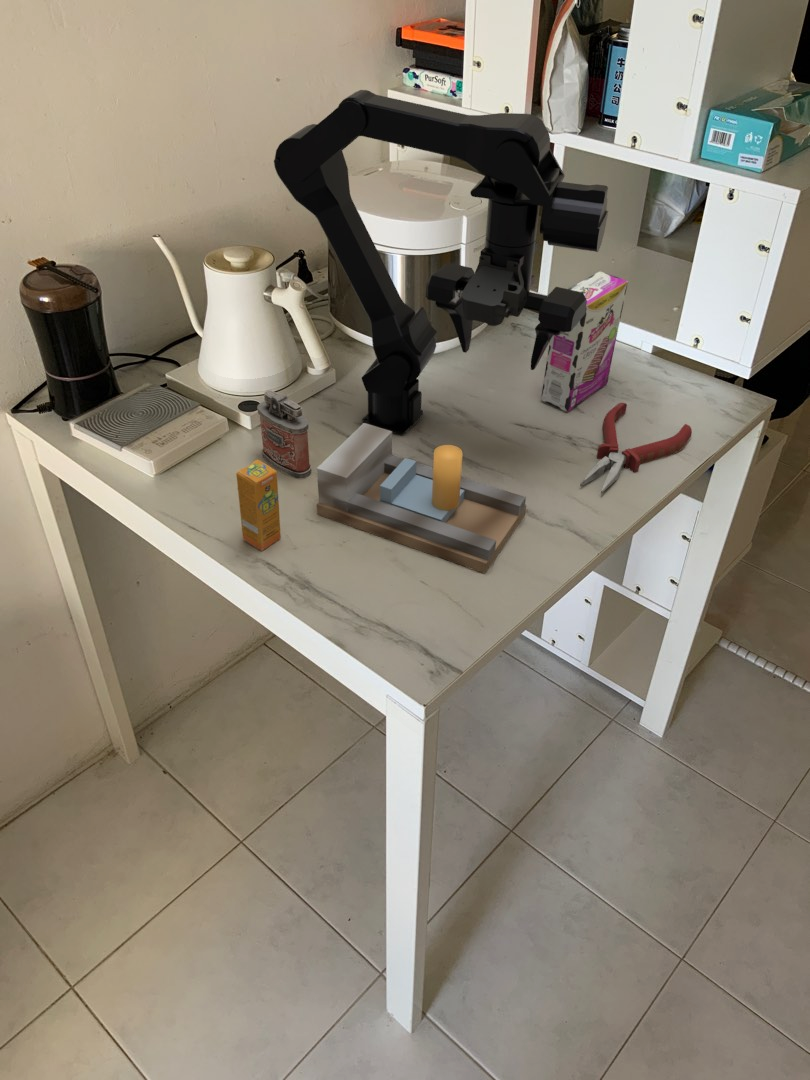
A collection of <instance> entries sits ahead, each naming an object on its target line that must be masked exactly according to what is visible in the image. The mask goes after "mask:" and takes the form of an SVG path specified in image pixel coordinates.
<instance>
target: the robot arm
mask: <svg viewBox="0 0 810 1080" xmlns="http://www.w3.org/2000/svg"><path fill="white" fill-rule="evenodd" d="M359 137H365V138H369V139H373V140H378V141H382V142H386V143H390V144H394V145H397V146H398V145H399V146H404V147H408V148H411V149H415V150H420V151H425V152H430V153H434V154H438V155H442V156H446V157H451V158H454V159H457V160H460V161H461V162H464V163H465V164H467V165H468V166H470V167H471V168H472V169H474V170H475V171H476V172H478V173H479V174H482V175H483V176H484V177H483V178H482V179H481V180H479V181H478V182H477V183H476V184H475V186H474V187H473V188H472V189H471V190H470V192H469V194H470V195H471V197H472V198H480V199H487V200H488V202H487V214H486V229H485V239H484V240H485V241H484V247H483V248H482V249H481V250H480V254H479V257H478V258H479V259H478V264H477V267H476V268H475V271H474V269H473V268H472V267H469V266H466V265H465V266H464V265H460V264H455V263H451V262H446V263H444V265H442V266H441V267H440V268H439V269H437V271H435V272H434V273H433V274H431V275H430V276H429V277H428V278H427V281H426V284H425V298H426V299H427V300H429V301H431V302H433V301H434V302H435V303H434V304H435V305H436V308H441V309H442V310H444V311H445V312H446V313H448V315H449V317H450V319H451V321H452V323H453V325H454V326H453V327H454V329H455V331H456V334H457V339H458V341H459V344H460V346H461V351H462V352H463V353H467V352H468V351H469V350H470V346H471V340H472V335H473V321H476V322H479V323H482V324H487V325H488V326H490V327H492V326H493V327H496V326H497V327H498V326H500V325H502V323H503V322H504V319H505V318H506V319H508V318H509V317H511V316H512V317H517V318H518V317H520V315H521V313H522V311H523V310H524V309H525V310H531V311H535V312H538V322H539V323H538V324H537V325H536V326H535V328H534V331H535V335H536V336H535V340H534V344H533V350H532V354H531V358H530V370H532V371H534V370H535V369H536V368H537V367H538V364H539V363H540V361H541V358H543V355H544V353H545V351H546V349H547V348H548V347H549V342H550V340H551V338H552V337H553V335H560V334H561V333H562V332H570V331H572V329H573V328H574V327H575V326H576V325H577V323H578V322H579V321H580V320H581V318H582V317H583V316H584V315H585V311H586V305H587V300H586V298H585V296H584V294H583V292H578V291H574V290H569V288H563V287H559V286H555V287H554V288H553V289H552V290H551V291H550V292H549V294H547V295H545V294H540V293H535V292H532V291H531V287H532V286H533V285H534V281H535V275H533V265H534V264H533V263H534V257H535V253H536V252H537V251H538V246H539V242H538V241H536V239H537V231H538V222H539V213H540V206H542V208H541V209H542V210H541V217H540V222H539V234H540V235H542V241H543V242H547V245H548V246H553V247H559V248H565V249H566V248H567V249H573V250H579V251H580V250H581V251H588V252H594V253H598V252H599V251H600V249H601V246H602V243H603V239H604V235H605V232H606V231H605V230H606V227H607V221H608V220H607V219H608V215H609V210H608V193H609V192H608V191H609V187H608V185H605V184H591V185H590V184H581V183H574V182H573V183H572V182H564V181H563V180H564V179H565V173H564V172H563V169H562V168H561V166H560V164H559V162H558V160H557V158H556V157H555V155H554V153H553V151H552V150H551V138H550V134H549V130H548V129H547V127H546V125H545V123H544V121H543V120H542V119H541V118H539V117H538V116H536V115H534V114H531V113H517V112H516V113H514V112H513V113H512V112H511V113H507V112H505V113H504V112H498V113H490V114H489V113H488V114H481V115H479V114H477V115H475V114H466V113H460V112H457V111H451V110H447V109H442V108H439V107H438V108H437V107H434V106H429V105H428V106H427V105H424V104H420V103H415V102H410V101H406V100H401V99H397V98H393V97H388V96H383V95H379V94H376V93H373V92H372V91H370V90H367V89H359V90H357V91H355V92H353V93H351V94H350V95H348V96H347V97H345V98H344V99H342V101H341V102H340V103H339V104H338V106H337V107H336V108H335V109H334V110H333V111H331V112H330V114H328V115H327V116H326V117H324V118H323V119H322V120H321V121H319V123H318V124H317V123H316V124H315V123H311V124H309V125H306V126H304V127H303V128H301V129H300V130H297V132H295V133H293V134H292V135H291V136H288V137H287V138H286V139H284V140H283V141H282V142H280V143H279V145H278V147H277V148H276V150H275V156H274V159H273V165H274V169H275V171H276V174H277V176H278V178H279V179H280V181H281V182H282V183H283V185H284V186H285V188H286V189H287V191H288V192H289V193H290V194H291V196H292V197H293V199H294V201H296V202H297V203H298V204H300V205H301V206H302V207H303V208H305V209H306V210H307V211H308V212H310V213H311V214H312V215H313V216H314V217H315V219H316V220H317V222H318V223H319V224H320V227H321V229H322V231H323V233H324V235H325V236H326V238H327V241H328V242H329V245H330V247H331V249H332V251H333V252H334V254H335V255H336V258H337V260H338V261H339V264H340V265H341V267H342V270H343V271H344V273H345V275H346V277H347V279H348V281H349V282H350V283H349V284H350V285H351V287H352V289H353V290H354V292H355V294H356V296H357V298H358V300H359V302H360V304H361V307H362V308H363V310H364V312H365V313H366V316H367V317H368V319H369V322H370V331H371V341H372V349H373V351H374V355H375V357H376V359H375V360H374V361H373V362H372V363H371V365H370V366H369V367H368V369H367V370H366V371H365V372H364V374H363V375H362V376H361V381H362V384H363V386H364V389H365V391H366V392H367V414H365V416H364V417H363V418H362V421H361V423H362V424H363V423H366V424H369V425H373V426H376V427H379V428H383V429H386V430H389V431H392V434H397V435H399V436H403V435H405V434H406V433H407V432H408V431H409V430H410V429H411V428H412V426H414V425H415V424H416V423H417V421H419V420H420V419H421V417H422V416H423V415H424V410H423V409H422V397H423V396H422V391H421V390H420V389H419V387H420V384H419V383H420V380H419V378H418V377H419V376H420V375H421V374H422V372H423V371H424V369H425V368H426V366H427V365H428V363H429V362H430V360H431V359H432V357H433V356H434V354H435V351H436V348H437V342H436V341H437V340H436V337H435V336H436V335H437V334H438V331H437V330H436V329H435V328H434V327H433V326H432V324H431V322H430V319H429V317H428V313H427V311H426V309H425V307H424V306H420V307H419V308H417V309H415V310H414V309H413V308H411V307H410V306H409V305H408V304H406V303H405V302H404V301H403V299H402V297H401V296H400V293H399V292H398V290H397V288H396V286H395V283H394V282H393V279H392V278H391V275H390V274H389V272H388V269H387V267H386V265H385V262H384V261H383V259H382V257H381V255H380V253H379V251H378V249H377V247H376V245H375V243H374V240H373V239H372V237H371V234H370V233H369V231H368V228H366V225H365V223H364V221H363V219H362V217H361V215H360V213H359V210H358V209H357V207H356V205H355V203H354V200H353V199H352V196H351V189H350V179H349V167H348V165H347V161H346V158H345V156H344V155H345V154H344V153H343V151H344V150H345V149H346V148H347V147H348V146H350V144H351V145H352V143H353V142H354V141H355V140H356V139H357V138H359Z"/></svg>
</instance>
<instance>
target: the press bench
mask: <svg viewBox="0 0 810 1080" xmlns="http://www.w3.org/2000/svg"><path fill="white" fill-rule="evenodd" d="M404 459H405V457H404V458H403V457H401V456H396V455H393V432H392V431H389V430H386V429H383V428H379V427H376V426H373V425H369V424H366V423H362V424H361V425H360V426H358V428H356V429H355V431H354V432H353V433H352V434H350V435H349V437H347V438H346V439H345V440H344V441H343V442H342V443H341V444H340V445H339V446H338V447H337V448H336V449H335V450H334V451H333V452H332V453H331V454H330V455H329V456H328V457H327V458H326V459H325V460H323V462H321V463H320V465H318V466H317V468H316V476H317V492H318V502H317V503H316V512H317V513H316V514H317V516H318V515H319V516H321V517H323V518H324V517H325V518H327V519H330V520H333V521H335V522H338V523H341V524H344V525H347V526H349V527H353V528H355V529H358V530H360V531H363V532H367V533H370V534H372V535H375V536H377V537H381V538H383V539H387V540H389V541H391V542H395V543H398V544H401V545H403V546H405V547H409V548H411V549H414V550H418V551H420V552H423V553H426V554H428V555H431V556H434V557H438V558H440V559H443V560H445V561H449V562H452V563H454V564H458V565H460V566H462V567H465V568H469V569H472V570H475V571H477V572H480V573H483V574H486V573H488V570H489V569H490V567H491V566H492V564H493V563H494V561H495V560H496V558H497V557H498V555H499V553H501V551H502V549H503V548H504V546H505V545H506V543H507V542H508V540H509V539H510V538H511V535H512V534H513V533H514V531H515V530H516V529H517V527H518V525H519V524H520V522H522V519H523V518H524V516H525V515H526V510H527V504H526V499H527V497H526V496H524V495H521V494H518V493H515V492H511V491H508V490H505V489H502V488H499V487H496V486H492V485H490V484H486V483H483V482H480V481H476V480H473V479H471V478H467V477H463V476H461V483H460V489H462V490H465V491H464V500H463V501H462V503H461V504H460V505H459V506H458V508H457V509H456V510H455V512H454V513H453V514H452V515H451V517H450V518H449V519H448V521H447V522H446V523H443V522H440V521H437V520H434V519H432V518H429V517H426V516H423V515H420V514H417V513H414V512H411V511H408V510H405V509H402V508H399V507H396V506H393V505H390V504H387V503H384V502H381V501H380V485H381V484H382V483H383V482H384V481H385V480H386V478H387V477H388V476H389V475H390V474H391V473H392V472H393V471H394V470H395V469H396V468H397V466H398V465H399V464H400V463H401V462H402V461H403V460H404ZM416 475H418V476H422V477H425V478H428V479H431V480H433V467H432V466H429V465H425V464H423V463H419V462H416Z"/></svg>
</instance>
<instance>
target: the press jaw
mask: <svg viewBox="0 0 810 1080" xmlns="http://www.w3.org/2000/svg"><path fill="white" fill-rule="evenodd" d="M463 455H464V454H463V451H462V449H461V448H460V447H458V446H456V445H453V444H443V445H440V446H437V447H436V448H435V449H434V451H433V463H432V464H433V467H432V468H433V480H431V479H428V478H425V477H422V476H418V475H416V463H417V461H416V460H414V459H410V458H407V457H404V460H403V461H402V462H401V463H400V464H399V465H398V466H397V468H396V469H395V470H394V471H393V472H392V473H391V474H390V475H389V476H388V477H387V478H386V480H385V481H384V482H383V483H382V484H381V485H380V501H381V502H384V503H387V504H390V505H393V506H396V507H399V508H402V509H405V510H408V511H411V512H414V513H417V514H420V515H423V516H426V517H429V518H432V519H434V520H437V521H440V522H443V523H446V522H447V521H448V519H449V518H450V517H451V515H452V514H453V513H454V512H455V510H456V509H457V508H458V506H459V505H460V504H461V503H462V501H463V500H464V491H465V490H462V489H460V483H461V477H462V468H463V467H462V465H463Z"/></svg>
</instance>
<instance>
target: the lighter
mask: <svg viewBox="0 0 810 1080" xmlns="http://www.w3.org/2000/svg"><path fill="white" fill-rule="evenodd" d="M263 394H264V401H262V402H260V403H259V404H257V407H256V408H257V414H258V415H259V421H260V431H261V432H260V433H261V441H262V449H261V454H262V455H261V456H262V458H263V459H264V460H265V462H267V464H268V465H269V466H270V467H271V466H272V468H273V469H275V470H276V471H279V472H282V473H283V474H285V475H287V476H289V477H291V478H294V479H298V480H299V479H300V480H301V479H306V478H308V477H310V476H311V475H312V464H310V452H309V435H308V430H309V421H308V419H306V418H305V417H304V416H303V410H302V409H303V408H302V407H303V406H300V404H298V403H296V402H294V401H292V400H291V399H289V398H288V396H287V395H286V393H284V392H280V393H277V392H275V391H273V390H271V389H269V390H266V391H264V392H263Z"/></svg>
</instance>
